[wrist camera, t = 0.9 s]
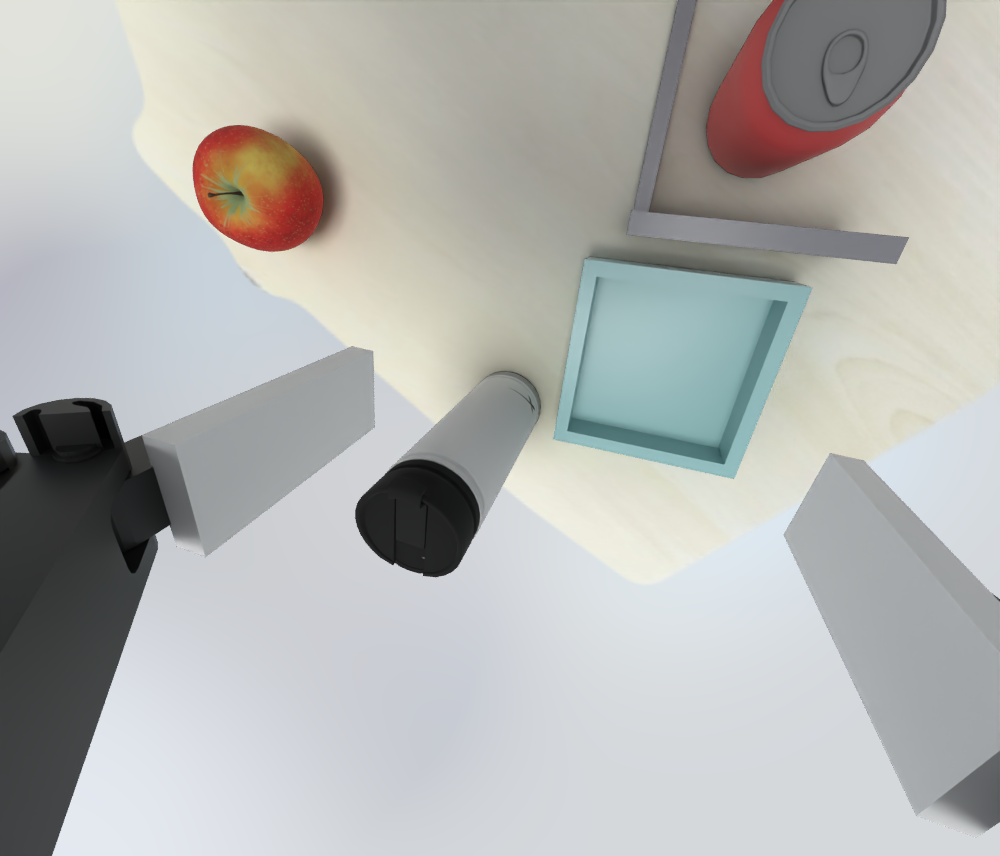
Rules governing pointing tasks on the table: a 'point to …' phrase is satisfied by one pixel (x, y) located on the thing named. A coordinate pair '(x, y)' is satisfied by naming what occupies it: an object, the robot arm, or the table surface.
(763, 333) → the tray
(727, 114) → the beer can
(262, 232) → the apple
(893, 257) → the bay
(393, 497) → the travel mug
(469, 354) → the table surface
